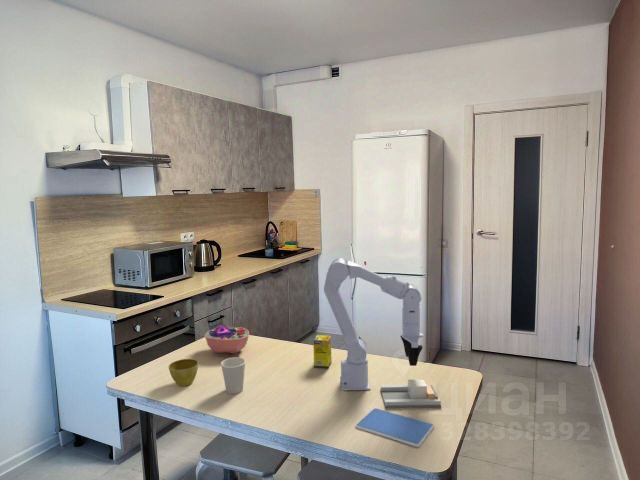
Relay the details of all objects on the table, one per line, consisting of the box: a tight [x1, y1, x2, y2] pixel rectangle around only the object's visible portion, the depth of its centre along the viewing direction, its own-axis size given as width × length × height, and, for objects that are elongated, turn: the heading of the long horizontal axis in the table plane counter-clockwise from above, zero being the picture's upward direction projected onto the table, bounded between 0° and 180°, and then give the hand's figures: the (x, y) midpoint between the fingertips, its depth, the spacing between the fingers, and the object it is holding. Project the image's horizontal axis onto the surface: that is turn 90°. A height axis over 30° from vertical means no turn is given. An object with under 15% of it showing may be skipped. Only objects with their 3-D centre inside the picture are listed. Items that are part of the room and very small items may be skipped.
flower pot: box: [168, 358, 199, 387], centre depth 158 cm, size 10×10×7 cm
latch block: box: [425, 382, 435, 399], centre depth 143 cm, size 2×8×2 cm, turn 179°
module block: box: [407, 379, 427, 399], centre depth 143 cm, size 5×5×4 cm
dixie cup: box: [220, 357, 247, 395], centre depth 151 cm, size 8×8×10 cm
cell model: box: [203, 324, 250, 354], centre depth 187 cm, size 17×20×11 cm
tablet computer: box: [354, 408, 435, 448], centre depth 126 cm, size 19×13×1 cm, turn 56°
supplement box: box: [312, 334, 333, 369], centre depth 171 cm, size 6×6×11 cm
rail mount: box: [380, 383, 442, 409], centre depth 143 cm, size 17×13×2 cm
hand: (411, 360), depth 151 cm, fingers open, 7 cm apart
